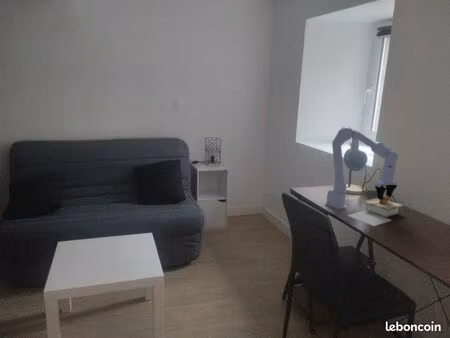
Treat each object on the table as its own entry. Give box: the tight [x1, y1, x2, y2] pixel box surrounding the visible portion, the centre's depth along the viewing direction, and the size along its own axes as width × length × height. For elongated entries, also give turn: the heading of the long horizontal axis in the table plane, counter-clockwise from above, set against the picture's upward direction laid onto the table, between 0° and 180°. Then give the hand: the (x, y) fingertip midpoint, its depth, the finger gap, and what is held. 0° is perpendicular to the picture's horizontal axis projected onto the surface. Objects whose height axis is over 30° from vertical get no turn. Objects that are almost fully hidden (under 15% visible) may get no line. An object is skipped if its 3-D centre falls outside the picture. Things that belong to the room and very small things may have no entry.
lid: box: [363, 194, 404, 211], centre depth 183 cm, size 14×14×5 cm
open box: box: [366, 204, 399, 218], centre depth 184 cm, size 11×11×4 cm
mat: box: [346, 209, 393, 227], centre depth 176 cm, size 16×16×1 cm
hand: (384, 198), depth 183 cm, fingers open, 7 cm apart
